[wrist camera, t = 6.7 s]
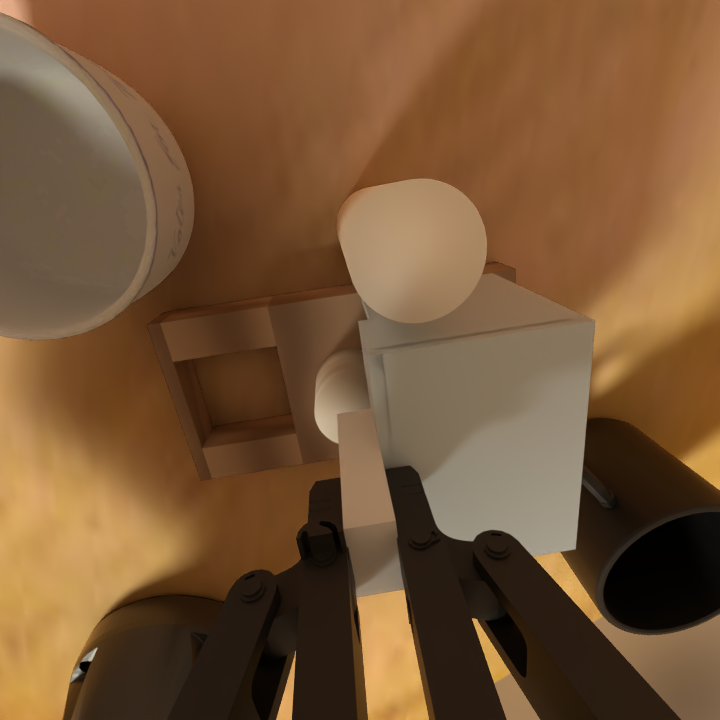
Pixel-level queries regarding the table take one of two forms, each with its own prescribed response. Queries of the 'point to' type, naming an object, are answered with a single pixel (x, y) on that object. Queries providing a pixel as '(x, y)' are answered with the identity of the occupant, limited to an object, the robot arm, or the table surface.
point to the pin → (412, 248)
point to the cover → (487, 411)
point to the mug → (645, 534)
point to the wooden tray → (299, 367)
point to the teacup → (80, 191)
